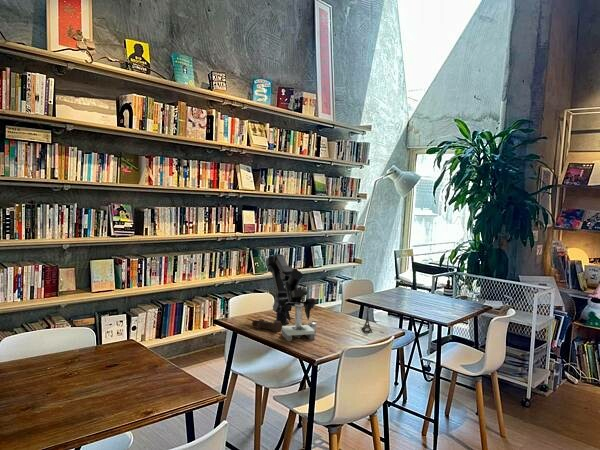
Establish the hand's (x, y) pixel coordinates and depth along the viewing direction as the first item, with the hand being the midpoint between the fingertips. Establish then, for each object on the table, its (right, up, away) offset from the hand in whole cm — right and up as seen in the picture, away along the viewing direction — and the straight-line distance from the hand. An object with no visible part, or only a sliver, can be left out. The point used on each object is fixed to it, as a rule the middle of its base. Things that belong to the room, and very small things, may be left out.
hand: (299, 320), depth 204 cm
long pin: (-1, -8, +2) cm, 8 cm away
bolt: (-16, -8, +12) cm, 22 cm away
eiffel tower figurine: (+34, -10, +16) cm, 39 cm away
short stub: (+6, -8, +9) cm, 14 cm away
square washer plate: (-1, -8, +1) cm, 8 cm away
